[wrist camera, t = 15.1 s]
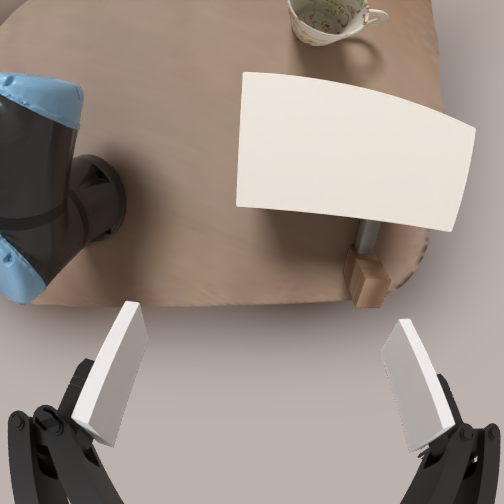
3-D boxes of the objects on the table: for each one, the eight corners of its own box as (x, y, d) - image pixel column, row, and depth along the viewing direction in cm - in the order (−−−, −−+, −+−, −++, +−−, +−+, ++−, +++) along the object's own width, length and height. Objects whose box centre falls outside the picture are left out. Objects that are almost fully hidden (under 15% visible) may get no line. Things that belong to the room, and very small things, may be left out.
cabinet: (250, 163, 35) (236, 206, 21) (254, 89, 30) (243, 71, 16) (389, 181, 35) (451, 232, 21) (400, 113, 30) (475, 128, 15)
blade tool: (342, 271, 43) (355, 307, 36) (362, 184, 36) (386, 207, 28) (364, 273, 43) (379, 308, 36) (386, 188, 36) (413, 211, 28)
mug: (275, 6, 24) (277, -24, 15) (363, 2, 22) (390, -23, 13) (291, 57, 28) (299, 39, 19) (379, 51, 26) (413, 38, 17)
